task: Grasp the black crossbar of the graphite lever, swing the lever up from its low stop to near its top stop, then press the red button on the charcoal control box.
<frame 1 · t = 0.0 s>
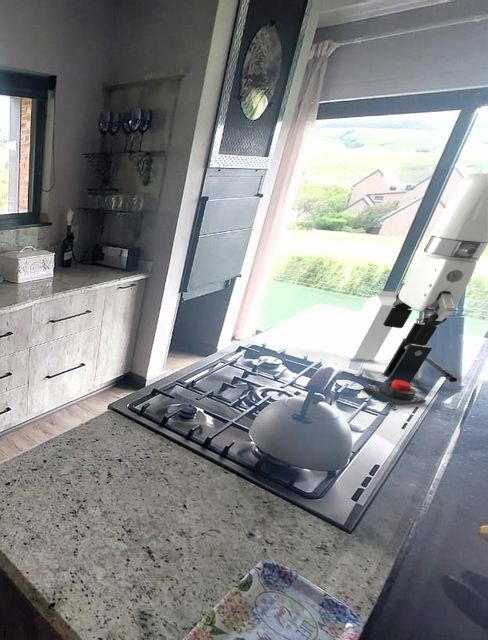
hand: (402, 334, 82), 24 cm above the counter, tool pointing down, fingers open, 9 cm apart
milk: (354, 359, 128), on the counter
lever: (430, 361, 108), point 8 cm above the counter, hinge at -30.0°
button box: (391, 400, 106), on the counter
bracket: (392, 384, 114), on the counter
button: (400, 385, 104), point 4 cm above the counter, slide at 0.1 cm
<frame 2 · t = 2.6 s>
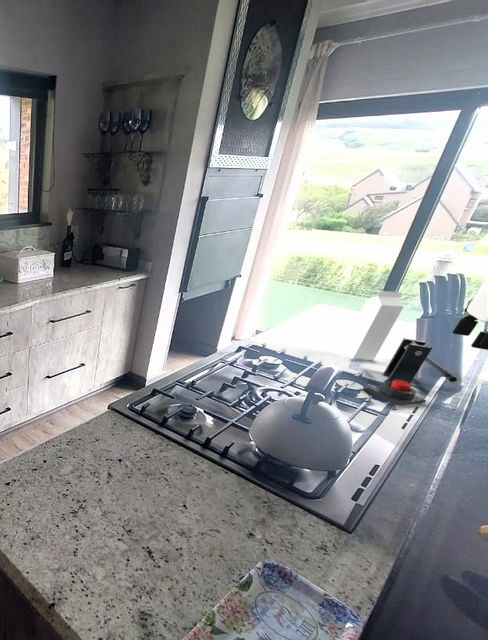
hand: (469, 341, 102), 16 cm above the counter, tool pointing down, fingers open, 9 cm apart
nothing on the counter moved.
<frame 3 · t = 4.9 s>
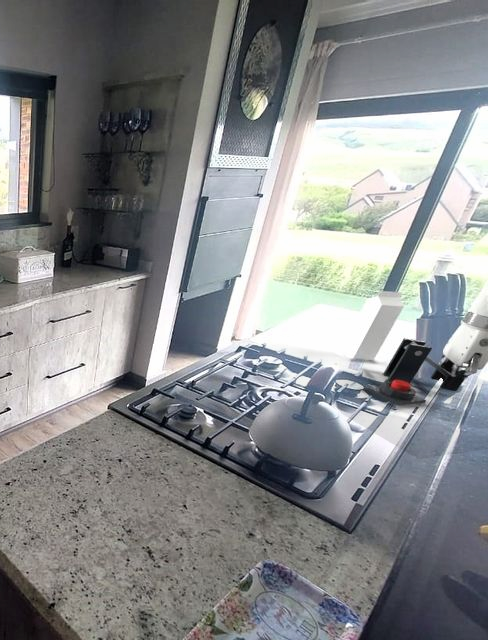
hand: (443, 383, 109), 3 cm above the counter, tool pointing down, fingers closed on lever, 5 cm apart
lever: (430, 361, 108), point 8 cm above the counter, hinge at -30.0°, touching gripper
everything else where it was.
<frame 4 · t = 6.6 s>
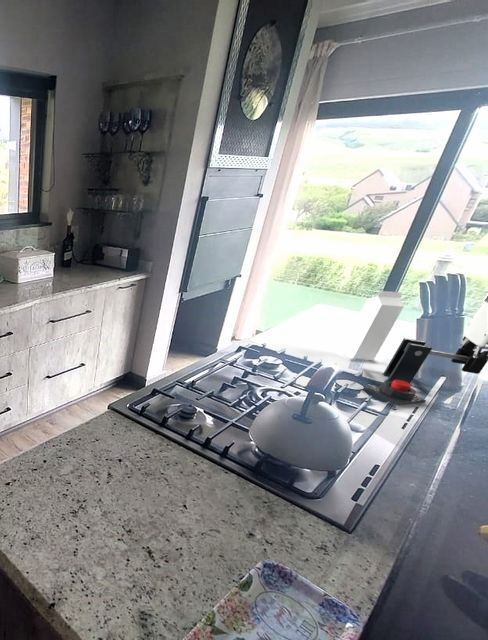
hand: (464, 366, 105), 9 cm above the counter, tool pointing down, fingers closed on lever, 5 cm apart
lever: (439, 353, 107), point 11 cm above the counter, hinge at -0.6°, touching gripper
everything else where it was.
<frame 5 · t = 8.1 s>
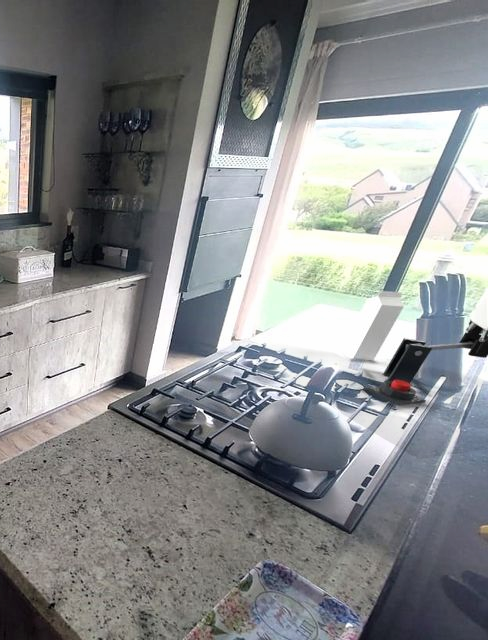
hand: (471, 351, 103), 13 cm above the counter, tool pointing down, fingers closed on lever, 5 cm apart
lever: (441, 346, 106), point 13 cm above the counter, hinge at 20.7°, touching gripper
everything else where it was.
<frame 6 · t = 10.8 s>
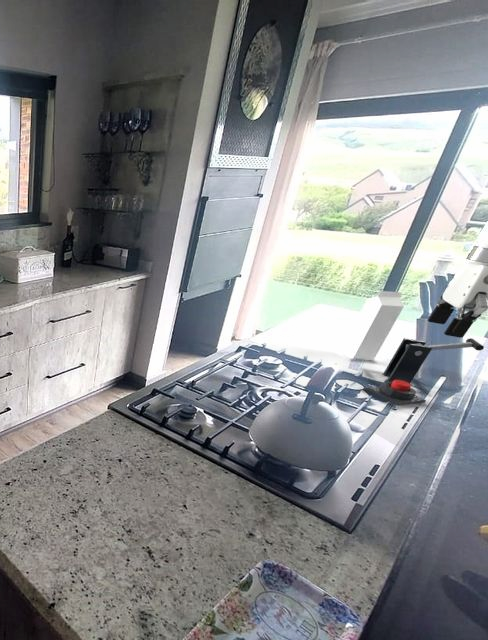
hand: (443, 329, 97), 20 cm above the counter, tool pointing down, fingers open, 9 cm apart
lever: (441, 346, 106), point 13 cm above the counter, hinge at 20.7°
everything else where it was.
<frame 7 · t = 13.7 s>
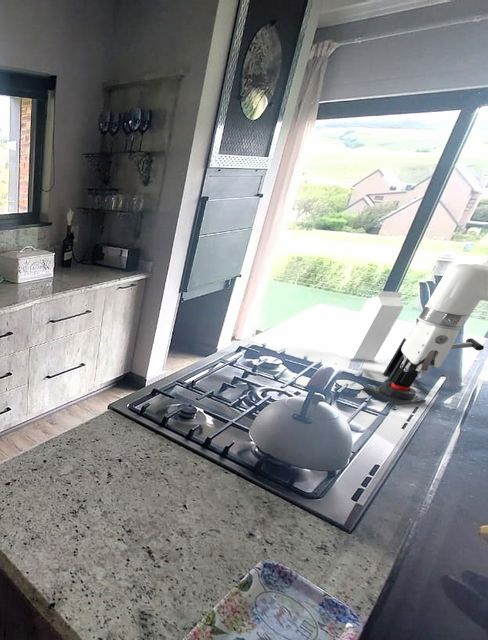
hand: (400, 384, 104), 5 cm above the counter, tool pointing down, fingers closed
button: (399, 387, 104), point 4 cm above the counter, slide at -0.5 cm, touching gripper
everything else where it was.
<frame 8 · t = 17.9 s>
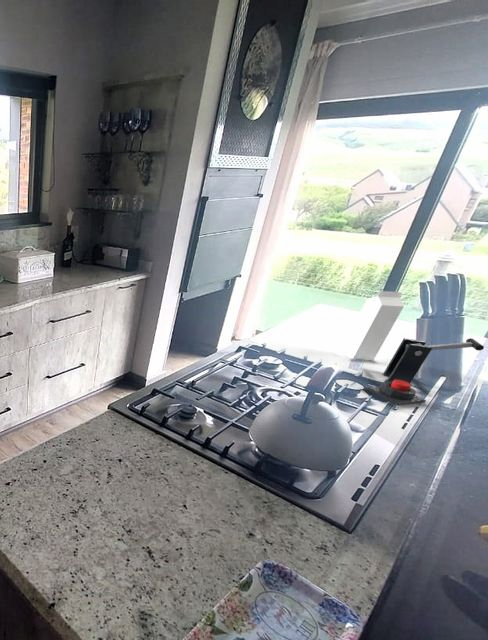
button: (400, 385, 104), point 4 cm above the counter, slide at 0.1 cm
everything else where it was.
at the end: lever at +21° (first picture: -30°); button pushed in 1.1 cm at the most during the clip, back to where it started at the end; button slide at 0.1 cm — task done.
